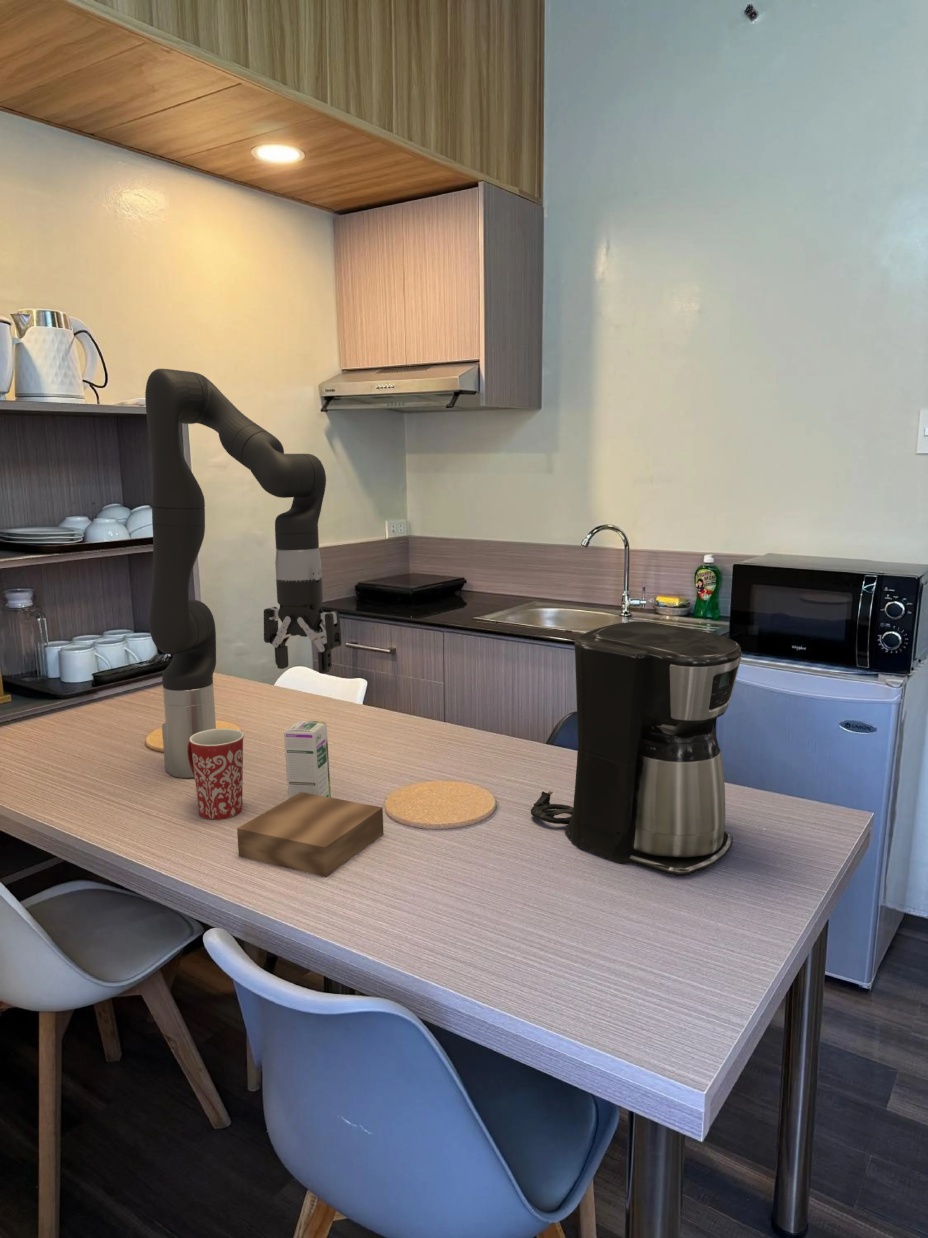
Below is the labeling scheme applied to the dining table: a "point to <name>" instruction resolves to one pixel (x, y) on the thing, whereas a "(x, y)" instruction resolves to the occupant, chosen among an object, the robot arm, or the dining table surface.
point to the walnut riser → (310, 833)
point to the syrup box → (307, 758)
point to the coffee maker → (650, 746)
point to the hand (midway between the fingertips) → (303, 670)
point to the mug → (217, 771)
